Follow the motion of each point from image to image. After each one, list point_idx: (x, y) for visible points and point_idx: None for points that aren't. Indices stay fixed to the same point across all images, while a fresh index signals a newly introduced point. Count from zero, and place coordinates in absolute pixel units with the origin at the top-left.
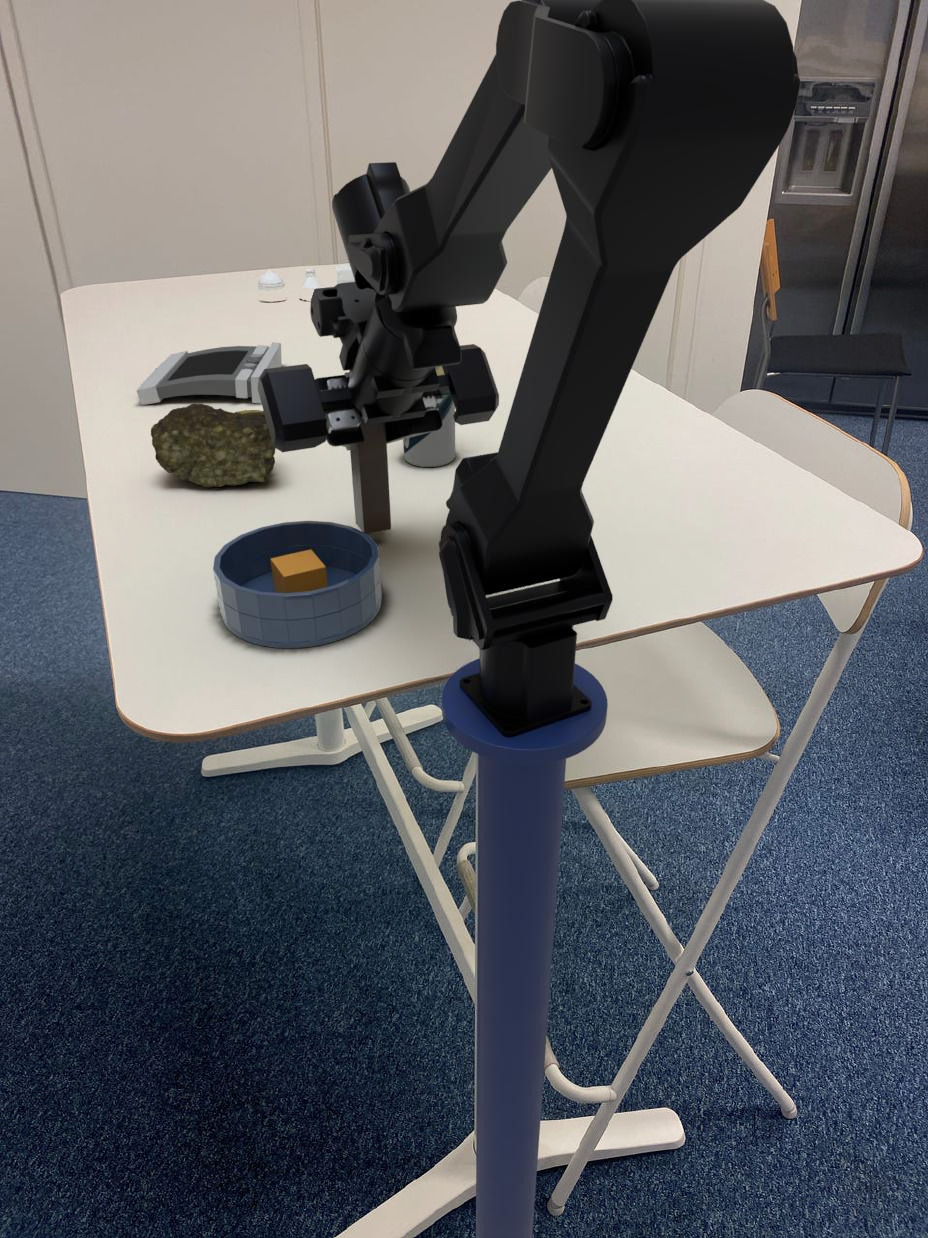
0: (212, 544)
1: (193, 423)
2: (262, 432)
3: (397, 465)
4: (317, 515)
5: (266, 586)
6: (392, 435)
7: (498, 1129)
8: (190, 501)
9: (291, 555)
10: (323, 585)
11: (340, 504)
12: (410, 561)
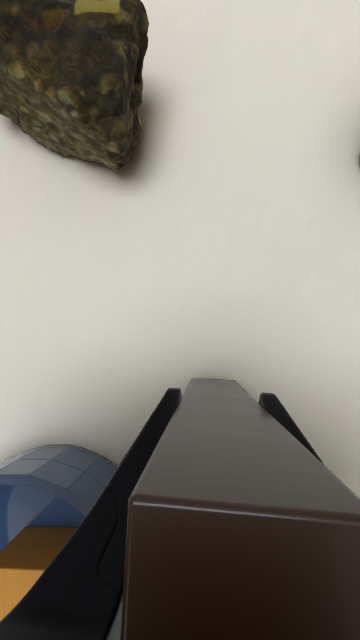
0: (11, 322)
1: None
2: (98, 100)
3: (339, 166)
4: (161, 295)
5: (24, 494)
6: None
7: None
8: (23, 179)
9: (13, 577)
10: None
11: (204, 272)
12: None
